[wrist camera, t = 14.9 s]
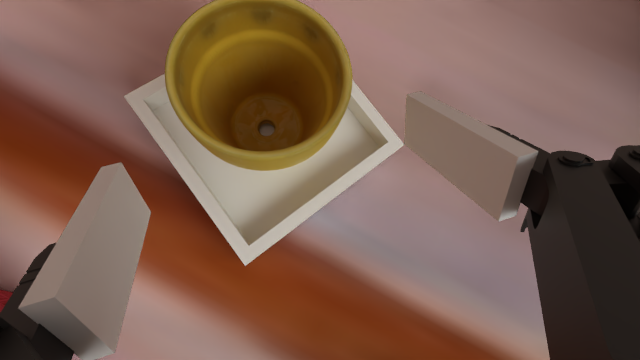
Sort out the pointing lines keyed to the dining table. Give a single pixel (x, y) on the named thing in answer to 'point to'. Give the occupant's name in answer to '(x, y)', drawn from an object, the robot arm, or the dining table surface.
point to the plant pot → (258, 81)
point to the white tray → (266, 186)
